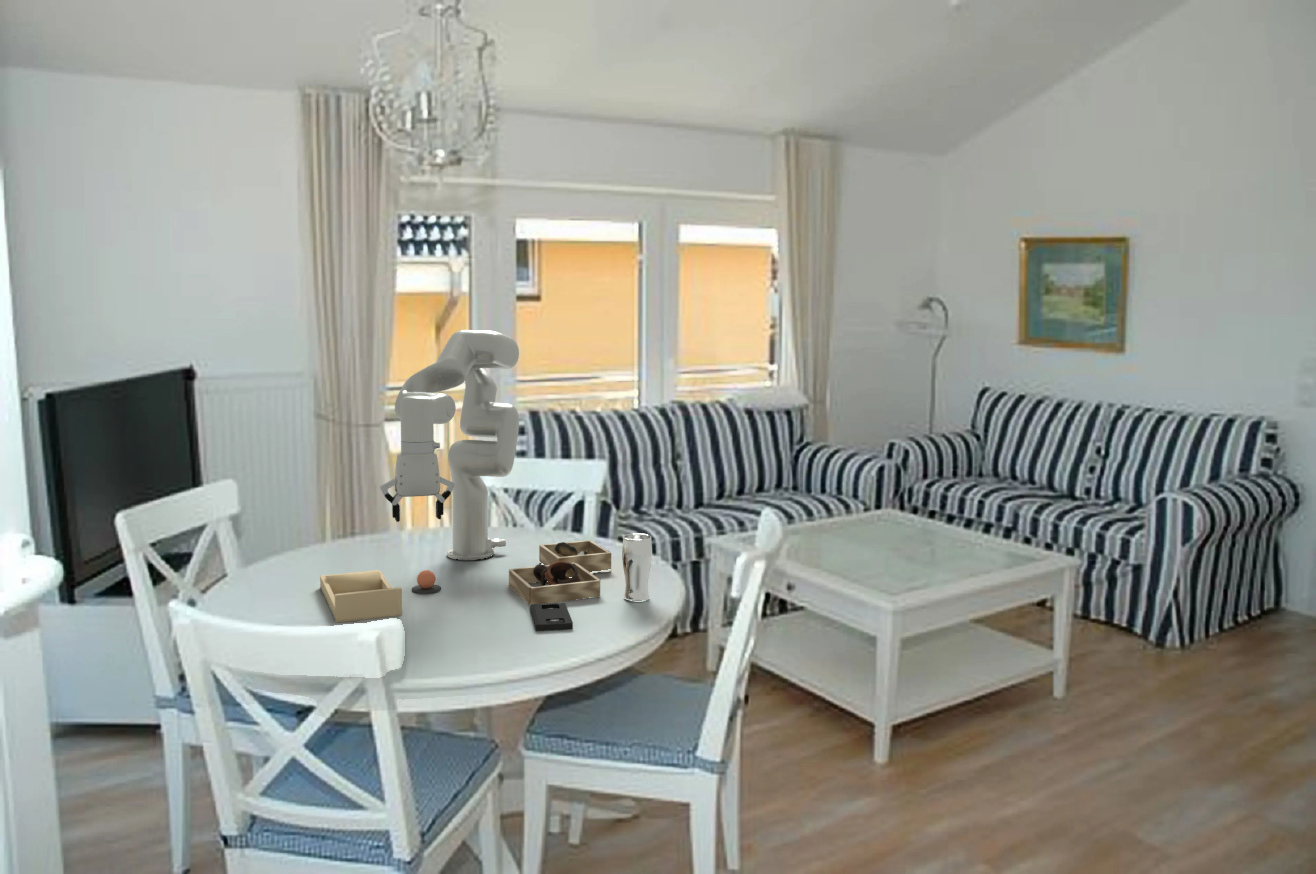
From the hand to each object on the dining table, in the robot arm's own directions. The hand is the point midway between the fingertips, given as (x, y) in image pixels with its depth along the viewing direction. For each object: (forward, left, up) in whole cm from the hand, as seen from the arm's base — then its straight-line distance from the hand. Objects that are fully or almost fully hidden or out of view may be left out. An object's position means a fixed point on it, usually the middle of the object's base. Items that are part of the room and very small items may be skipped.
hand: (418, 519), depth 238 cm
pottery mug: (-30, +13, -18) cm, 37 cm away
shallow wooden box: (-30, +13, -17) cm, 37 cm away
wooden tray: (-42, -5, -17) cm, 45 cm away
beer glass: (-46, +26, -17) cm, 55 cm away
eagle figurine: (-40, -5, -18) cm, 44 cm away
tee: (-2, +1, -17) cm, 17 cm away
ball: (-2, +1, -15) cm, 15 cm away
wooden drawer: (+14, +4, -21) cm, 26 cm away
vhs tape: (-22, +33, -18) cm, 44 cm away
